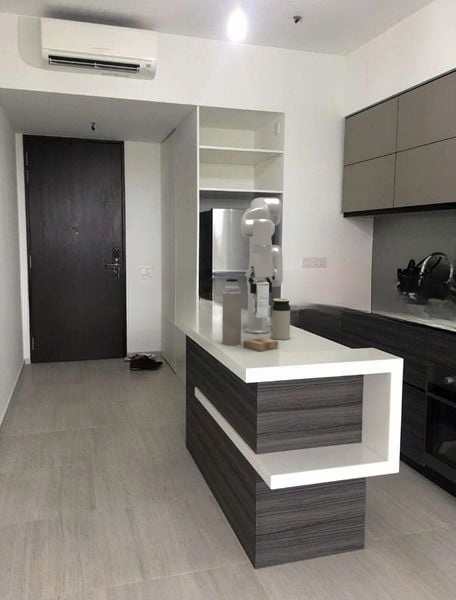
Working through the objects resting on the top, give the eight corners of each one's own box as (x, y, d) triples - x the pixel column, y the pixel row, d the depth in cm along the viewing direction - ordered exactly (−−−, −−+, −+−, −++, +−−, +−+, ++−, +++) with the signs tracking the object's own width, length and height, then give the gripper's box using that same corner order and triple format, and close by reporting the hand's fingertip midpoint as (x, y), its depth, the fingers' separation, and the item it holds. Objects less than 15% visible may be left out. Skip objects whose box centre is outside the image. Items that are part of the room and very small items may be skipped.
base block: (261, 344, 228) (261, 337, 228) (277, 348, 221) (277, 341, 220) (243, 347, 222) (243, 340, 222) (259, 351, 214) (259, 344, 214)
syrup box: (252, 315, 222) (253, 281, 221) (266, 315, 223) (267, 281, 221) (254, 317, 217) (254, 282, 215) (269, 317, 217) (269, 282, 215)
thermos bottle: (226, 341, 236) (226, 278, 233) (243, 342, 233) (243, 278, 230) (219, 344, 228) (220, 279, 225) (237, 345, 226) (238, 279, 223)
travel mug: (293, 339, 242) (293, 299, 239) (279, 340, 237) (279, 300, 235) (282, 336, 248) (283, 297, 246) (268, 337, 244) (269, 298, 242)
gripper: (270, 249, 225) (270, 291, 227) (239, 249, 214) (239, 293, 216) (283, 249, 219) (282, 292, 221) (251, 250, 208) (251, 295, 210)
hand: (261, 292), depth 219 cm, fingers closed on syrup box, 7 cm apart
